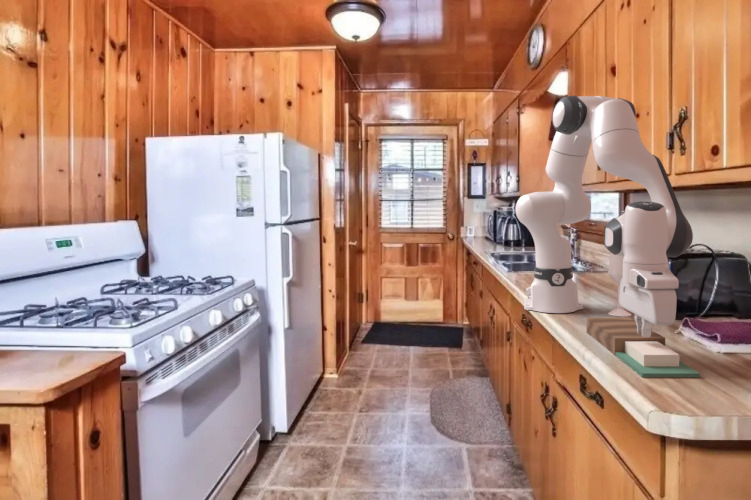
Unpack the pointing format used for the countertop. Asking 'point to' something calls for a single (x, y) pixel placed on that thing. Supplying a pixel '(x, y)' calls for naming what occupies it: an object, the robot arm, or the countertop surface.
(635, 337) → the brown striped block
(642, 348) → the cream block
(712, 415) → the countertop surface
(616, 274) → the champagne flute
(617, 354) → the mat
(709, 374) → the countertop surface
